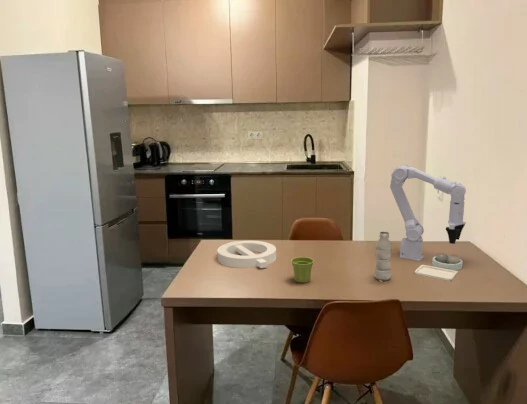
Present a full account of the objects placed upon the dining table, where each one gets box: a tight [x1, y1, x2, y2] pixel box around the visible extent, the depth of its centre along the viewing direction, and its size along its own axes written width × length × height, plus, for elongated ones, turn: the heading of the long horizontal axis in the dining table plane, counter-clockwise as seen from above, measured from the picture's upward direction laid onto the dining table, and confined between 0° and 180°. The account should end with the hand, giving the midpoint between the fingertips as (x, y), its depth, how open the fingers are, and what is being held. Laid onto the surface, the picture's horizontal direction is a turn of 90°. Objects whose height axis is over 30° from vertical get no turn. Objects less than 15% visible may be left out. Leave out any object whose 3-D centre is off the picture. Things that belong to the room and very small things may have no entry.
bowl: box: [431, 255, 464, 271], centre depth 194 cm, size 12×12×3 cm
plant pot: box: [290, 256, 315, 284], centre depth 181 cm, size 9×9×9 cm
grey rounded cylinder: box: [447, 254, 460, 264], centre depth 193 cm, size 4×4×5 cm
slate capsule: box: [436, 252, 448, 264], centre depth 196 cm, size 4×4×5 cm
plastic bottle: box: [374, 231, 393, 282], centre depth 179 cm, size 6×7×20 cm
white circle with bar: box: [216, 240, 277, 269], centre depth 211 cm, size 28×28×5 cm
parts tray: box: [413, 264, 459, 282], centre depth 186 cm, size 15×11×1 cm
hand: (454, 241), depth 197 cm, fingers open, 7 cm apart
